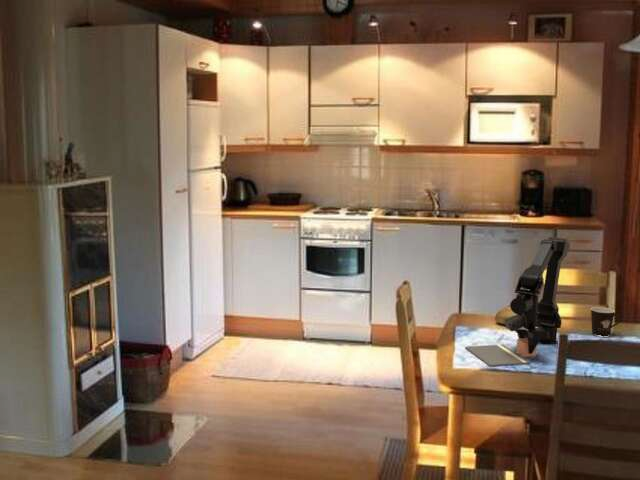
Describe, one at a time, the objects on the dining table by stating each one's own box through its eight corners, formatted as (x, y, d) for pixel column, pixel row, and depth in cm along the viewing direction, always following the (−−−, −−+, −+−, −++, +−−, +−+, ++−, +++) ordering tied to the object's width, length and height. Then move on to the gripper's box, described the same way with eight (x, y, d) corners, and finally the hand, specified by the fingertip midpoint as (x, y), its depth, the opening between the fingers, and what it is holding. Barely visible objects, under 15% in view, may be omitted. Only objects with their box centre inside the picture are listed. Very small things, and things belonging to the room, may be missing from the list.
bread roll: (499, 320, 302) (500, 301, 301) (535, 326, 294) (536, 307, 293) (491, 325, 294) (492, 306, 293) (527, 331, 286) (528, 312, 285)
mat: (502, 345, 267) (502, 344, 267) (530, 363, 248) (530, 361, 248) (465, 348, 264) (465, 346, 264) (490, 366, 245) (490, 364, 244)
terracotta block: (529, 351, 261) (530, 338, 261) (536, 355, 257) (537, 342, 256) (516, 352, 260) (517, 338, 260) (523, 356, 256) (524, 343, 255)
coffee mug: (588, 336, 281) (590, 311, 279) (589, 330, 289) (591, 306, 287) (621, 340, 276) (623, 314, 275) (621, 334, 284) (623, 309, 283)
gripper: (496, 303, 263) (493, 344, 265) (521, 316, 245) (518, 361, 248) (524, 301, 265) (521, 342, 268) (551, 315, 247) (548, 359, 250)
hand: (526, 351), depth 258 cm, fingers closed on terracotta block, 5 cm apart
